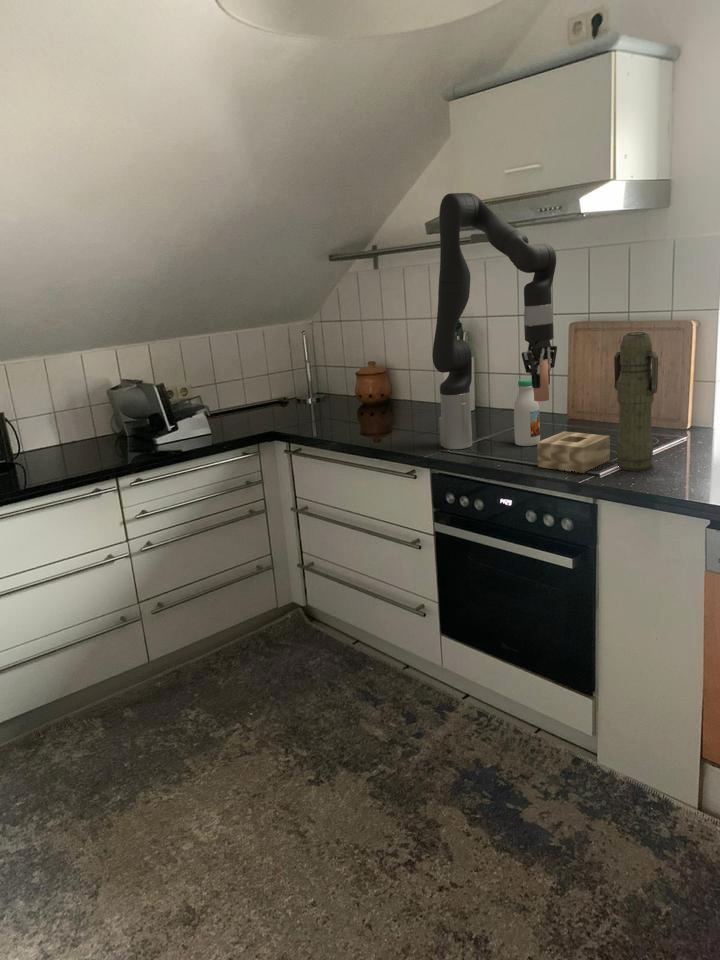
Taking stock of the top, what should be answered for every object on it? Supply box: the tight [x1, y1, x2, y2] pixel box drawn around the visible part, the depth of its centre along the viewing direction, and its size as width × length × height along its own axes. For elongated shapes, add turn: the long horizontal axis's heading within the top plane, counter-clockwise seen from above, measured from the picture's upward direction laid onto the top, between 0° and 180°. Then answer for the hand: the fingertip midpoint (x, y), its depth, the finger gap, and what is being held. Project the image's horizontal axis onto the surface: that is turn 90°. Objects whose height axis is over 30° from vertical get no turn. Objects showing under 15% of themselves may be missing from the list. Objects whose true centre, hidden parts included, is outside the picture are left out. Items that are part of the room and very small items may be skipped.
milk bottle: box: [513, 378, 541, 447], centre depth 229 cm, size 8×8×20 cm
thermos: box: [613, 331, 659, 472], centre depth 193 cm, size 9×12×35 cm
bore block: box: [536, 431, 611, 474], centre depth 204 cm, size 14×14×7 cm
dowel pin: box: [533, 359, 550, 402], centre depth 201 cm, size 4×4×11 cm
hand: (541, 386), depth 202 cm, fingers closed on dowel pin, 4 cm apart
